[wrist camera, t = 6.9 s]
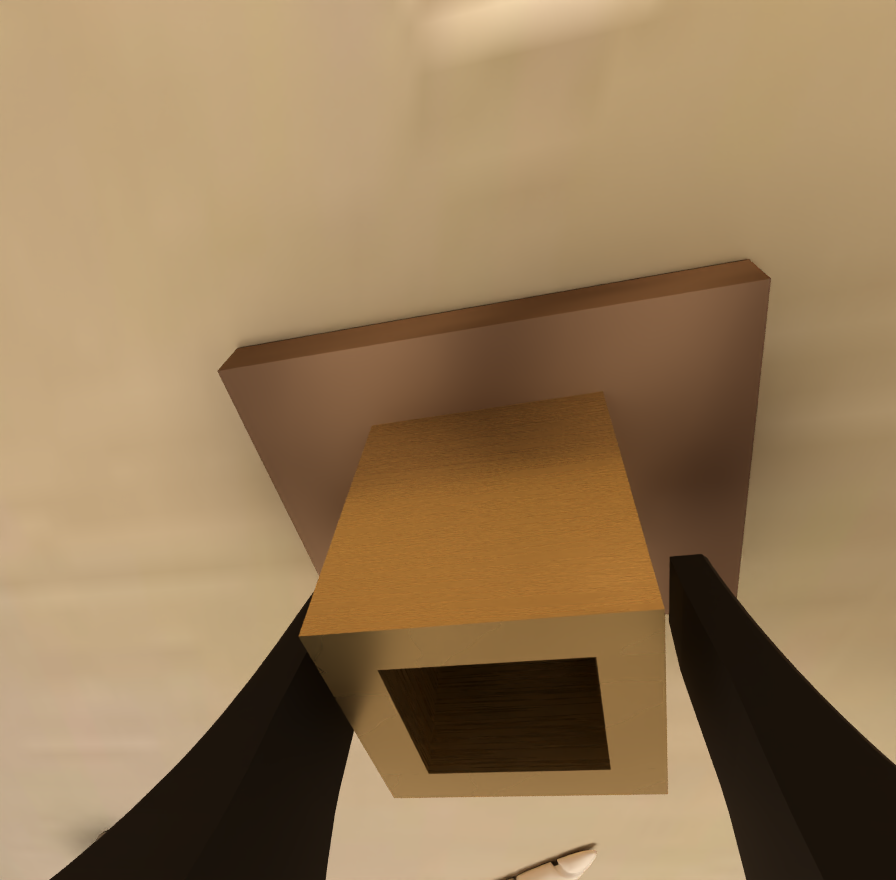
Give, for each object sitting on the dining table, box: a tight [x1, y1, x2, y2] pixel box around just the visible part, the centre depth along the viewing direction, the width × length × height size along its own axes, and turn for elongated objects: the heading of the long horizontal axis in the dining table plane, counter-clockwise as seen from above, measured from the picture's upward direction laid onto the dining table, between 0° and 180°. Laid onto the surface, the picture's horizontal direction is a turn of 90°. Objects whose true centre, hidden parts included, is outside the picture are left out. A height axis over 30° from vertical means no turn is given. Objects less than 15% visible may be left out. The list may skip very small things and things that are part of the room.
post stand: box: [218, 259, 771, 614], centre depth 14 cm, size 12×10×4 cm
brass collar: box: [299, 391, 668, 798], centre depth 12 cm, size 6×6×6 cm
